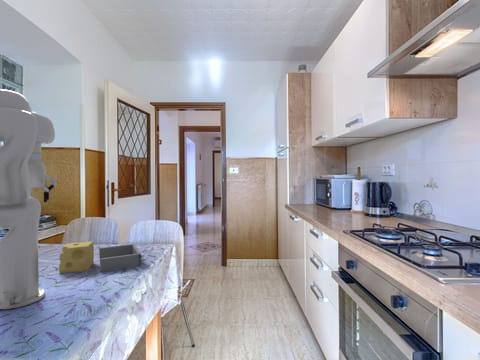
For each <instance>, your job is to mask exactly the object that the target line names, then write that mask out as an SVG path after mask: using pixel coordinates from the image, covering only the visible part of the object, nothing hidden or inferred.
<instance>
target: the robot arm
mask: <svg viewBox="0 0 480 360" xmlns="http://www.w3.org/2000/svg"><path fill="white" fill-rule="evenodd" d="M55 137H56V132H55V128H54V123H53V122H52V120H51V119H50V118H48V117H47V116H45V115H43V114H39V113H38V112H35V111H33V110H32V108H31V106H30V103H29V101H28V100H27V98H26V97H25V96H23V94H21V93H19V92H17V91H13V90H8V89H1V88H0V143H1V142H3V144H2V145H0V230H7V229H8V232H7V233H6V234H5V235H3V237H2V238H1V239H0V309H4V310H10V309H12V308H13V309H17V308H22V307H25V306H28V305H31V304H34V303H36V302H38V301H40V300H41V299H43V298H44V297H45V295H46V291H45V289H43V288H39V287H40V285H39V283H40V282H39V279H40V278H39V277H40V275H39V227H40V225H39V224H40V217H41V213H42V204H41V202H40V200H39V199H38V198H36V197H33V196H32V195H31V194H32V188H42V189H43V191H44V192H43V202H44V203H47V202H48V201H49V200H50V191H52V190H53V189H54V188H55V186H56V185H57V183H58V181H57V179H54V178H52V177H50V176H47V172H46V171H47V170H46V165H45V163H44V161H42V156H43V155H42V145H49V144H52V143H53V142H54V140H55ZM47 181H49V182H51V184H50V185H49V186H47Z"/></svg>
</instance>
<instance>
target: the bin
mask: <svg viewBox="0 0 480 360" xmlns="http://www.w3.org/2000/svg"><path fill="white" fill-rule="evenodd" d="M98 250H99V251H98V252H99V257H98V258H99V272H100V273H102V272H111V271H115V270H116V271H117V270H123V269H128V268H135V267H141V266H142V254H141V251H140V250H139V248H138V247H137V244H135V243H130V244H121V245H113V246H106V247H105V246H103V247H98Z"/></svg>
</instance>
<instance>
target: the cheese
mask: <svg viewBox="0 0 480 360" xmlns="http://www.w3.org/2000/svg"><path fill="white" fill-rule="evenodd" d="M61 249H62V251H61V252H60V253H59V262H60V263H59V265H58V272H59V274H65V273H66V274H67V273H77V272H79V273H80V272H88V271H89V269H90V268H91V267H92V266H93V265H94V261H95V260H94V259H95V257H94V256H95V253H94V251H95V249H94V241H81V242H67V243H65V244H64V245H63V246H62V248H61Z"/></svg>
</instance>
